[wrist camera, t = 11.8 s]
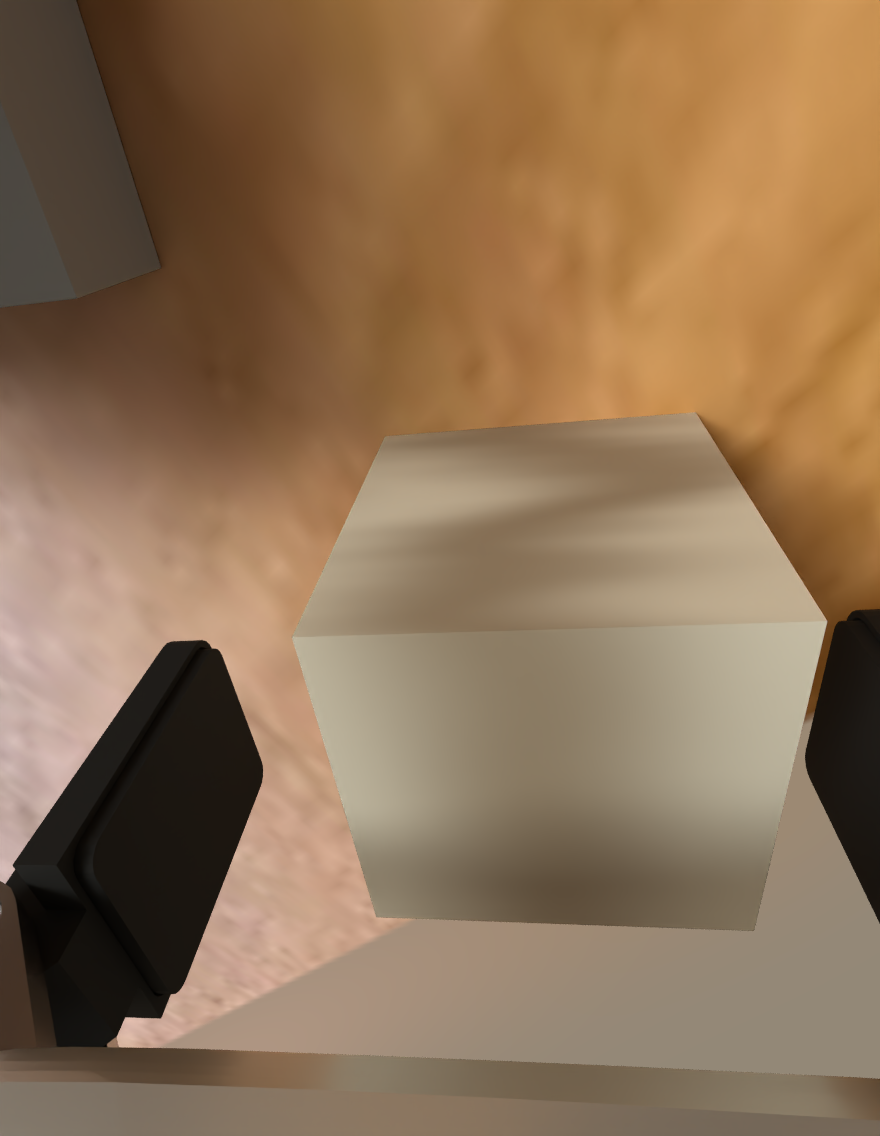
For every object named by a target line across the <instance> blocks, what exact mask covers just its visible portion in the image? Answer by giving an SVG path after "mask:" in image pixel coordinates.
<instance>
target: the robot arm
mask: <svg viewBox="0 0 880 1136" xmlns="http://www.w3.org/2000/svg"><path fill="white" fill-rule="evenodd" d="M805 761H806V768H807V772H808V775H809V778H810V780H811V782H812V784H813V786H814V788H815V790H816V792H817V794H818V796H819V799H820V801H821V803H822V805H823V807H824V809H825V811H826V813H827V815H828V817H829V819H830V821H831V823H832V825H833V828H834V829H835V832H836V834H837V836H838V838H839V840H840V842H841V844H842V846H843V848H844V850H845V852H846V854H847V856H848V859H849V861H850V863H851V865H852V867H853V869H854V871H855V873H856V875H857V877H858V879H859V881H860V883H861V885H862V888H863V890H864V892H865V894H866V895H867V898H868V900H869V902H870V904H871V906H872V908H873V910H874V912H875V914H876V917H877V919H878V921H879V923H880V609H874V610H856V611H853V612H852V613H851V614H850V615H849V616H848V619H847V621H840V622H838V623H837V624H836V626H835V629H834V633H833V637H832V641H831V646H830V650H829V654H828V658H827V663H826V667H825V671H824V675H823V680H822V684H821V688H820V692H819V697H818V701H817V705H816V709H815V714H814V718H813V722H812V727H811V731H810V735H809V739H808V744H807V748H806V753H805ZM262 778H263V765H262V761H261V758H260V756H259V753H258V750H257V748H256V745H255V742H254V740H253V737H252V734H251V732H250V729H249V726H248V724H247V721H246V718H245V716H244V713H243V710H242V708H241V705H240V702H239V700H238V697H237V694H236V692H235V689H234V686H233V684H232V681H231V678H230V676H229V673H228V670H227V668H226V665H225V662H224V660H223V657H222V655H221V653H220V651H219V650H218V649H212V648H211V646H210V644H209V643H207V642H206V641H203V640H196V641H174V642H169V643H167V644H166V645H165V646H164V647H163V648H162V650H161V651H160V653H159V654H158V656H157V657H156V658H155V660H154V661H153V663H152V664H151V666H150V667H149V669H148V670H147V671H146V673H145V674H144V676H143V677H142V679H141V680H140V682H139V683H138V684H137V686H136V687H135V689H134V690H133V692H132V693H131V695H130V696H129V697H128V699H127V700H126V702H125V703H124V705H123V706H122V708H121V709H120V710H119V712H118V713H117V715H116V716H115V718H114V719H113V721H112V722H111V723H110V725H109V726H108V728H107V729H106V731H105V732H104V734H103V735H102V736H101V738H100V739H99V741H98V742H97V744H96V745H95V747H94V748H93V749H92V751H91V752H90V754H89V755H88V757H87V758H86V760H85V761H84V763H83V764H82V765H81V767H80V768H79V770H78V771H77V773H76V774H75V776H74V777H73V778H72V780H71V781H70V783H69V784H68V786H67V787H66V789H65V790H64V791H63V793H62V794H61V796H60V797H59V799H58V800H57V802H56V803H55V804H54V806H53V807H52V809H51V810H50V812H49V813H48V815H47V816H46V817H45V819H44V820H43V822H42V823H41V825H40V826H39V828H38V829H37V830H36V832H35V833H34V835H33V836H32V838H31V839H30V841H29V842H28V843H27V845H26V846H25V848H24V849H23V851H22V852H21V854H20V855H19V856H18V858H17V859H16V861H15V862H14V864H13V867H14V868H15V871H14V872H13V874H12V875H11V877H10V878H9V880H8V881H7V883H6V884H4V883H3V882H1V881H0V1136H880V1079H872V1078H857V1077H836V1076H816V1075H795V1074H774V1073H753V1072H732V1071H710V1070H690V1069H670V1068H669V1069H668V1068H649V1067H626V1066H605V1065H581V1064H558V1063H536V1062H512V1061H490V1060H465V1059H442V1058H418V1057H417V1058H415V1057H393V1056H370V1055H369V1056H368V1055H343V1054H315V1053H288V1052H262V1051H236V1050H235V1051H234V1050H209V1049H177V1048H119V1046H118V1042H117V1038H116V1037H117V1035H118V1032H119V1030H120V1028H121V1026H122V1023H123V1021H124V1019H125V1017H135V1018H161V1017H162V1015H163V1012H164V1010H165V1007H166V1005H167V1002H168V1000H169V997H170V995H171V994H176V993H177V992H178V991H179V990H180V989H181V988H182V986H183V984H184V982H185V980H186V978H187V975H188V973H189V970H190V968H191V965H192V962H193V960H194V957H195V955H196V952H197V949H198V947H199V944H200V942H201V939H202V937H203V934H204V931H205V929H206V926H207V924H208V921H209V918H210V916H211V913H212V911H213V908H214V906H215V903H216V900H217V898H218V895H219V893H220V890H221V887H222V885H223V882H224V880H225V877H226V875H227V872H228V869H229V867H230V864H231V862H232V859H233V856H234V854H235V851H236V849H237V846H238V844H239V841H240V838H241V836H242V833H243V831H244V828H245V825H246V823H247V820H248V818H249V815H250V813H251V810H252V807H253V805H254V802H255V800H256V797H257V794H258V792H259V789H260V787H261V783H262Z"/></svg>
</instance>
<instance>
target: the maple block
mask: <svg viewBox="0 0 880 1136" xmlns="http://www.w3.org/2000/svg"><path fill="white" fill-rule="evenodd" d="M826 625H827V620H826V618H825V617H824V615H823V613H822V612H821V610H820V609H819V607H818V606H817V604H816V602H815V601H814V599H813V598H812V596H811V594H810V593H809V591H808V590H807V588H806V586H805V585H804V583H803V582H802V580H801V579H800V577H799V575H798V574H797V572H796V571H795V569H794V567H793V566H792V564H791V563H790V561H789V560H788V558H787V556H786V555H785V553H784V552H783V550H782V548H781V547H780V545H779V544H778V542H777V541H776V539H775V537H774V536H773V534H772V533H771V531H770V529H769V528H768V526H767V525H766V523H765V521H764V520H763V518H762V517H761V515H760V514H759V512H758V510H757V509H756V507H755V506H754V504H753V502H752V501H751V499H750V498H749V496H748V495H747V493H746V491H745V490H744V488H743V487H742V485H741V483H740V482H739V480H738V479H737V477H736V476H735V474H734V472H733V471H732V469H731V468H730V466H729V464H728V463H727V461H726V460H725V458H724V456H723V455H722V453H721V452H720V450H719V449H718V447H717V445H716V444H715V442H714V441H713V439H712V437H711V436H710V434H709V433H708V431H707V430H706V428H705V426H704V425H703V423H702V422H701V420H700V418H699V417H698V415H697V414H696V412H694V413H681V414H668V415H655V416H642V417H629V418H616V419H603V420H590V421H577V422H564V423H551V424H538V425H525V426H512V427H499V428H486V429H473V430H460V431H447V432H434V433H421V434H408V435H395V436H385V437H384V440H383V442H382V444H381V446H380V448H379V450H378V453H377V455H376V457H375V459H374V461H373V463H372V466H371V468H370V470H369V472H368V474H367V476H366V478H365V481H364V483H363V485H362V487H361V489H360V491H359V494H358V496H357V498H356V500H355V502H354V504H353V507H352V509H351V511H350V513H349V515H348V517H347V520H346V522H345V524H344V526H343V528H342V530H341V532H340V535H339V537H338V539H337V541H336V543H335V545H334V548H333V550H332V552H331V554H330V556H329V558H328V561H327V563H326V565H325V567H324V569H323V571H322V574H321V576H320V578H319V580H318V582H317V584H316V586H315V589H314V591H313V593H312V595H311V597H310V599H309V602H308V604H307V606H306V608H305V610H304V612H303V615H302V617H301V619H300V621H299V623H298V625H297V628H296V630H295V632H294V634H293V636H292V639H293V642H294V646H295V649H296V652H297V656H298V659H299V662H300V665H301V669H302V672H303V675H304V679H305V682H306V685H307V689H308V692H309V695H310V699H311V702H312V705H313V709H314V712H315V715H316V718H317V722H318V725H319V728H320V732H321V735H322V738H323V742H324V745H325V748H326V752H327V755H328V758H329V762H330V765H331V768H332V771H333V775H334V778H335V781H336V785H337V788H338V791H339V795H340V798H341V801H342V805H343V808H344V811H345V815H346V818H347V821H348V825H349V828H350V831H351V834H352V838H353V841H354V844H355V848H356V851H357V854H358V858H359V861H360V864H361V868H362V871H363V874H364V878H365V881H366V884H367V887H368V891H369V894H370V897H371V901H372V904H373V907H374V911H375V914H376V917H385V918H412V919H440V920H441V919H442V920H468V921H495V922H496V921H497V922H524V923H551V924H578V925H605V926H606V925H607V926H632V927H661V928H688V929H715V930H716V929H717V930H742V931H754V929H755V925H756V920H757V916H758V912H759V908H760V904H761V899H762V895H763V891H764V887H765V883H766V878H767V874H768V870H769V866H770V861H771V857H772V853H773V849H774V845H775V840H776V836H777V832H778V828H779V823H780V819H781V815H782V811H783V807H784V802H785V797H786V793H787V790H788V785H789V781H790V777H791V773H792V769H793V764H794V760H795V756H796V752H797V747H798V743H799V739H800V735H801V731H802V726H803V722H804V718H805V714H806V709H807V705H808V701H809V697H810V692H811V688H812V684H813V680H814V676H815V671H816V667H817V663H818V659H819V654H820V650H821V646H822V642H823V638H824V633H825V629H826Z"/></svg>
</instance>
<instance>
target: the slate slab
mask: <svg viewBox="0 0 880 1136" xmlns="http://www.w3.org/2000/svg"><path fill="white" fill-rule="evenodd" d="M160 268H161V266H160V262H159V259H158V256H157V253H156V250H155V247H154V244H153V240H152V237H151V234H150V231H149V228H148V225H147V222H146V218H145V215H144V212H143V209H142V206H141V203H140V200H139V196H138V193H137V190H136V187H135V184H134V181H133V178H132V174H131V171H130V168H129V165H128V162H127V159H126V156H125V152H124V149H123V146H122V143H121V140H120V137H119V134H118V130H117V127H116V124H115V121H114V118H113V115H112V112H111V109H110V105H109V102H108V99H107V96H106V93H105V90H104V87H103V83H102V80H101V77H100V74H99V71H98V68H97V65H96V61H95V58H94V55H93V52H92V49H91V46H90V43H89V39H88V36H87V33H86V30H85V27H84V24H83V21H82V17H81V14H80V11H79V8H78V5H77V2H76V0H0V308H1V307H10V306H18V305H26V304H35V303H43V302H51V301H60V300H68V299H76V298H80V297H82V296H85V295H88V294H91V293H93V292H96V291H99V290H102V289H105V288H107V287H110V286H113V285H116V284H118V283H121V282H124V281H127V280H130V279H132V278H135V277H138V276H141V275H143V274H146V273H149V272H152V271H155V270H157V269H160Z"/></svg>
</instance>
